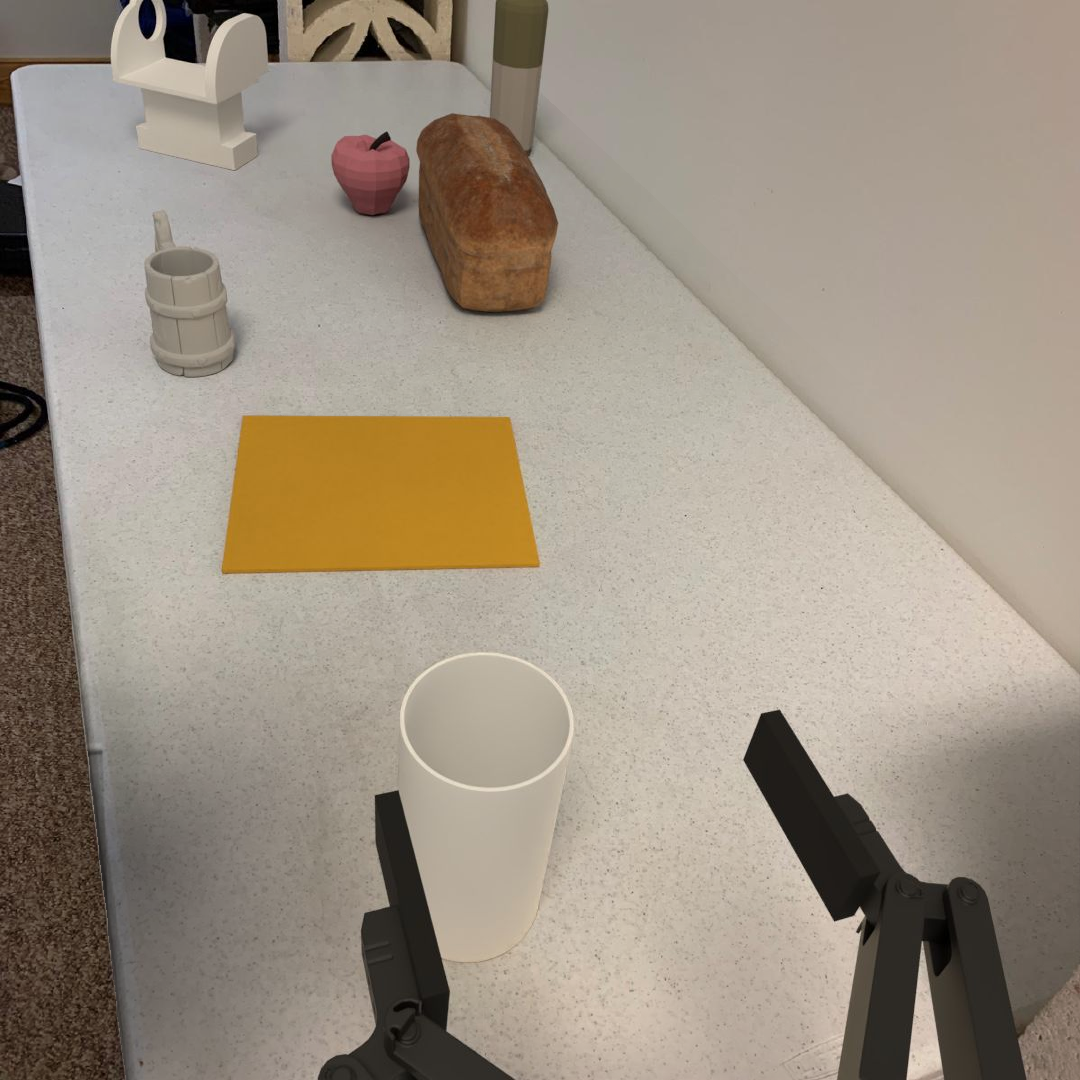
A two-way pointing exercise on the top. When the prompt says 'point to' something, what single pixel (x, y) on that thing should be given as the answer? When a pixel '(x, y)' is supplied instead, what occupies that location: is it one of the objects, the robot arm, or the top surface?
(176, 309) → the mug
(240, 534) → the cloth
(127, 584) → the top surface
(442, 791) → the cup
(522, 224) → the bread
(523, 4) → the bottle
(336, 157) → the apple
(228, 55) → the white holder stand
